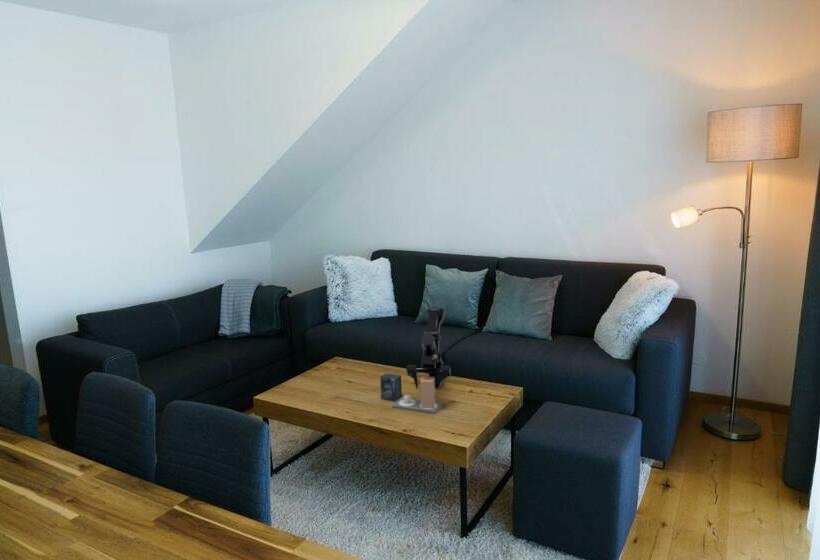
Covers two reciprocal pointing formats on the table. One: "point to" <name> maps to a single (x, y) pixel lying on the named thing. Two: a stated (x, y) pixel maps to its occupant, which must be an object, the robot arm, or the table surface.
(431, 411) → the plate
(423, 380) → the pink block
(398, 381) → the box
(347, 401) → the table surface
